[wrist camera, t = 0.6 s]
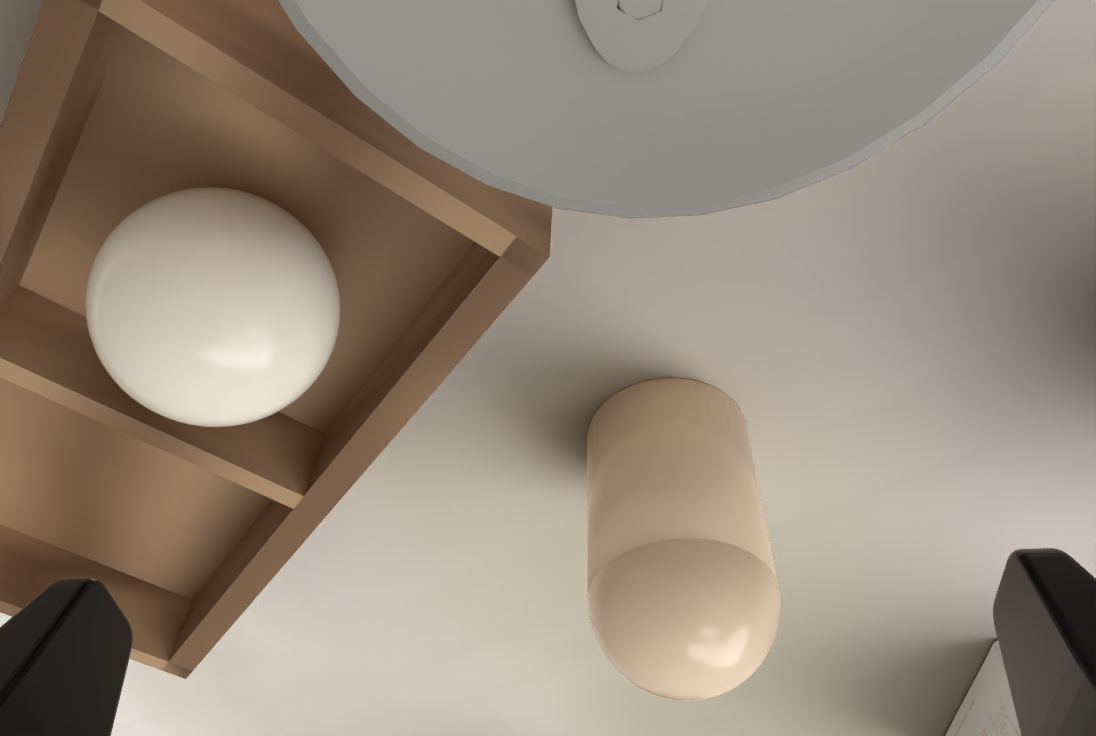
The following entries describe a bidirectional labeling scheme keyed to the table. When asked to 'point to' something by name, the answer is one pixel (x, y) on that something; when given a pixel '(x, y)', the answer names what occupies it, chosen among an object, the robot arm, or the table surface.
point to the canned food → (658, 88)
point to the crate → (254, 167)
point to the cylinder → (678, 541)
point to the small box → (987, 703)
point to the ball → (212, 307)
